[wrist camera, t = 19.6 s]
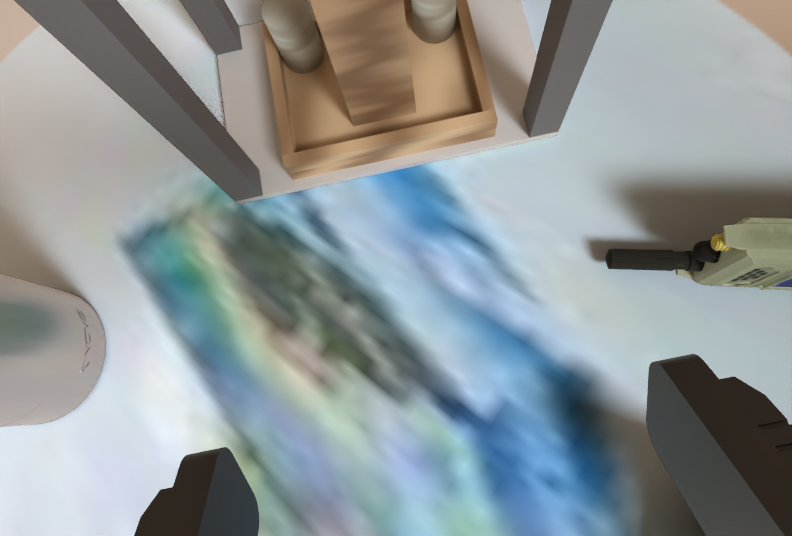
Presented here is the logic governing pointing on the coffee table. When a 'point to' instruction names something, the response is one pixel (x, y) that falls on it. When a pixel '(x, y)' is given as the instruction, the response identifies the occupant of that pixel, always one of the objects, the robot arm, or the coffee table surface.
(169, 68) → the grey stool
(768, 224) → the handheld radio
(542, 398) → the coffee table surface
